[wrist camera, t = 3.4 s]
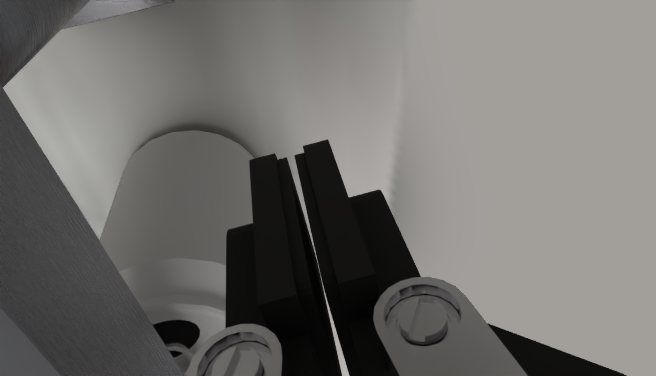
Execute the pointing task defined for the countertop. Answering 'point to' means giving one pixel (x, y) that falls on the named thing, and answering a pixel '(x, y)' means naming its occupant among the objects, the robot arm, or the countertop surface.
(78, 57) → the countertop surface
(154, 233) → the can
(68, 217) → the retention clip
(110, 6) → the clip base
